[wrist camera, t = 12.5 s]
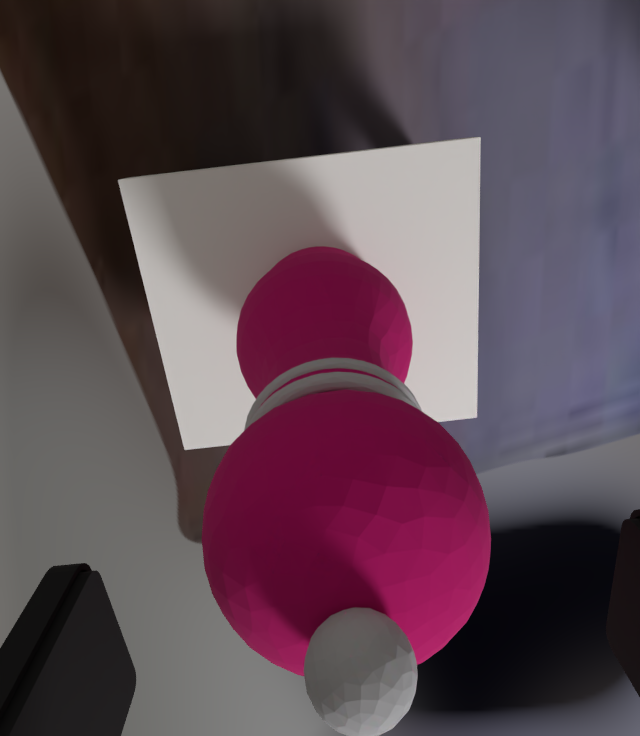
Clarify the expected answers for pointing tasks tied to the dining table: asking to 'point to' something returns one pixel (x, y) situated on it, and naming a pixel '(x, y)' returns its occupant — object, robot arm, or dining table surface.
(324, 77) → the dining table surface
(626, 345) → the dining table surface
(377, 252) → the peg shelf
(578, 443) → the dining table surface
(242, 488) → the pepper mill
